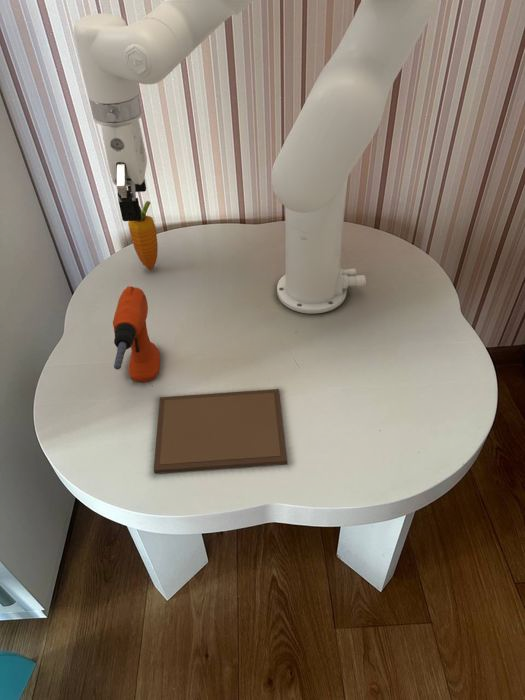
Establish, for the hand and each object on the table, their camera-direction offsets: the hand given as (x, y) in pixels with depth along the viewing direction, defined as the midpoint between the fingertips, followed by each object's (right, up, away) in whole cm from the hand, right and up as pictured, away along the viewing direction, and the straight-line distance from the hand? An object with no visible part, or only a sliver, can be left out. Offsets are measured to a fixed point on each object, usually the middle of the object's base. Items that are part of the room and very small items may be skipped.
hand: (135, 205), depth 100 cm
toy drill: (+4, -31, -12) cm, 34 cm away
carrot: (+1, -10, +10) cm, 14 cm away
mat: (+16, -37, -18) cm, 45 cm away
